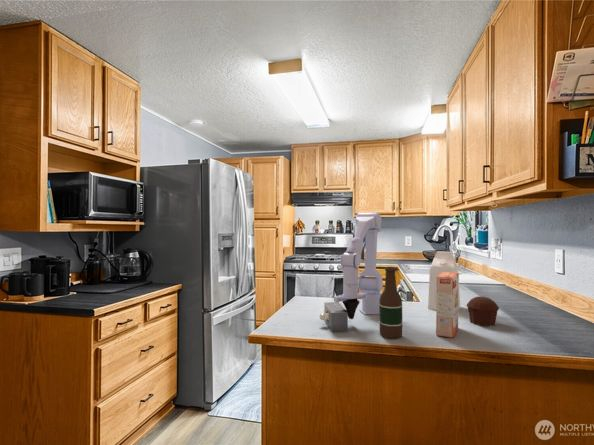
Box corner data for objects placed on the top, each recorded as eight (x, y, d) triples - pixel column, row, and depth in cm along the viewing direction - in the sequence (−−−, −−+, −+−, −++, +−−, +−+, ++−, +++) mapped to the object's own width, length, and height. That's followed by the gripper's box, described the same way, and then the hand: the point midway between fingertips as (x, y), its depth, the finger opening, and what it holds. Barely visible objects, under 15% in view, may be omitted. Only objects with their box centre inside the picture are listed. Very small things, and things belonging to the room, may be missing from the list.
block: (338, 319, 141) (338, 302, 141) (347, 331, 126) (347, 312, 126) (324, 319, 141) (324, 302, 141) (331, 332, 125) (331, 312, 125)
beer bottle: (402, 333, 123) (402, 266, 123) (402, 340, 116) (401, 269, 116) (380, 331, 126) (380, 265, 126) (378, 338, 118) (377, 268, 118)
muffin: (503, 328, 128) (503, 301, 128) (471, 326, 130) (471, 300, 130) (493, 319, 139) (493, 294, 139) (463, 318, 142) (463, 293, 142)
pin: (344, 320, 136) (344, 308, 136) (347, 323, 131) (347, 311, 131) (318, 321, 135) (318, 308, 135) (320, 324, 130) (320, 312, 130)
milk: (460, 306, 160) (459, 251, 160) (456, 312, 151) (456, 253, 150) (433, 303, 167) (432, 250, 167) (427, 308, 157) (427, 252, 157)
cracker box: (454, 339, 117) (454, 277, 117) (435, 336, 120) (435, 276, 120) (459, 328, 129) (459, 272, 129) (442, 325, 132) (442, 271, 132)
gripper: (359, 280, 141) (359, 313, 141) (329, 283, 134) (329, 318, 134) (370, 283, 134) (370, 317, 134) (339, 286, 128) (339, 323, 128)
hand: (350, 318), depth 134 cm, fingers closed
